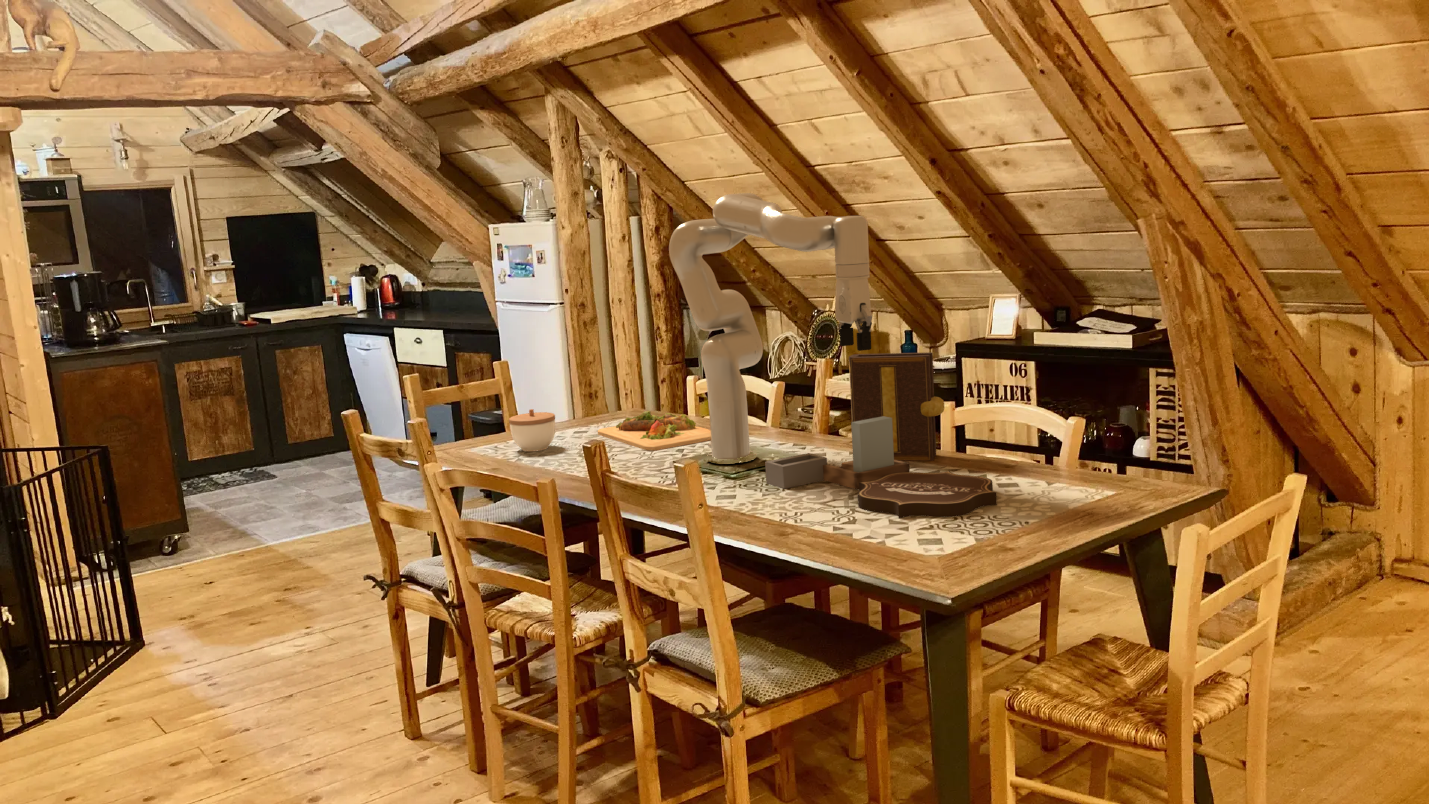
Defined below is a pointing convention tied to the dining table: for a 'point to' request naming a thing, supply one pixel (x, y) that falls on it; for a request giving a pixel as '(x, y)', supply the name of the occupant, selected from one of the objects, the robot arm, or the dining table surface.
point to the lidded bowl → (533, 430)
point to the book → (898, 399)
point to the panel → (872, 443)
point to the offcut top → (848, 465)
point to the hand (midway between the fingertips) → (855, 347)
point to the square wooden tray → (860, 474)
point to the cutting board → (657, 431)
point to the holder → (795, 470)
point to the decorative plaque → (926, 494)
